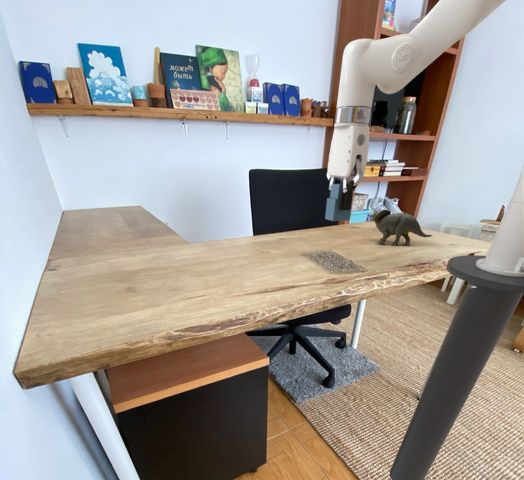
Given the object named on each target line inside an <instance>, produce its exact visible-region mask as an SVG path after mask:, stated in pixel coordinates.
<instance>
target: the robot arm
mask: <svg viewBox="0 0 524 480" xmlns="http://www.w3.org/2000/svg"><path fill="white" fill-rule="evenodd" d="M506 1H507V0H438V2H437V3H436V4H435V5H434V6H433V7H432V8H431V10H429V12H428V13H427V14H426V16H424V17H423V19H422V20H420V22H418V24H417V25H415V27H414V28H412V30H410V32H409V33H401V34H397V35H392V36H389V37H385V38H379V39H373V38H358V39H355V40H352V41H350V42H348V43H347V45H346V46H345V48H344V50H343V53H342V59H341V67H340V68H341V69H340V77H339V85H338V92H337V101H336V111H335V118H334V126H333V127H334V129H333V133H332V138H331V143H330V147H329V148H330V149H329V154H328V161H327V172H326V178H327V180H328V183H329V186H328V190H329V193H328V198H330V195H331V186H332V184H343V192H341V196H340V203H339V210H350V209H351V210H352V206H351V203H352V204H353V197H354V193H355V192H356V188H357V187H358V186H359V184H360V183H361V182H362V181H363V180H364V176H365V174H366V168H367V163H368V156H369V147H370V125H369V123H370V119H371V118H370V117H371V112H372V105H373V101H374V95H375V89H376V86H377V88H378V89H379V90H380V92H382V93H383V94H387V95H392V94H396V93H398V92H400V91H401V90H402V89H403V88H404V87H406V86H407V85H408V84H410V82H411V81H412V80H413V79H415V78H416V77H417V76H418V75H420V73H421V72H423V71H424V70H425V69H427V67H428V66H429V65H431V64H433V62H434V61H435V60H437V59H438V58H439V57H440V56H441V55H442V54H443V53H445V52H446V51H447V50H448V49H449V48H451V47H452V46H453V45H455V43H458V41H460V40H461V39H462V38H464V37H465V36H467V35H468V34H469V33H470V32H472V31H473V30H474V29H475V28H476V27H478V25H479V24H481V23H482V22H483V21H484V20H485V19H487V18H488V17H489V16H490V15H491V14H492V13H494V11H496V10H497V9H498V8H500V6H501V5H503V4H504V3H505V2H506ZM485 256H486V258H484V259H479V260H477V262H476V264H475V265H476V266H477V267H478V268H479V269H481V270H484V271H487V272H490V273H494V274H498V275H504V276H511V277H524V162H522V168H521V172H520V174H519V178H518V180H517V182H516V186H515V188H514V191H513V192H512V195H511V198H510V200H509V201H508V204H507V207H506V209H505V211H504V213H503V216H502V218H501V220H500V223H499V226H498V228H497V230H496V232H495V235H494V237H493V239H492V242H491V243H490V246H489V249H488V251H487V253H486V255H485Z"/></svg>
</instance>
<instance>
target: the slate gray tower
mask: <svg viewBox="0 0 524 480" xmlns="http://www.w3.org/2000/svg"><path fill="white" fill-rule="evenodd" d="M341 192H343V183H342V184H332V186H331V195H330V198H329V197H327V199H326V205H325V216H324V219H325V220H327V221H330V222H342V221H343V222H345V221H351V219H350V218H351V212H352V208H351V209H350V210H339V203H340V196H341ZM352 206H353V202H352V203H351V207H352Z"/></svg>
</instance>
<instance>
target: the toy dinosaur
mask: <svg viewBox="0 0 524 480" xmlns="http://www.w3.org/2000/svg"><path fill="white" fill-rule="evenodd" d="M371 209H372V210H373V211H372V214H371V217H370V218H371V221H372V222H374V223H375V227H376V229H378V231H379V232H380V233H381V234H382V238H379V241H378V242H377V244H378V245H383V246H384V245H385V244H386V241H387V239H388V238H390V237H391V236H395V240H394V241H393V242H391V243H390V245H391V246H394V247H395V246H398V245H399V243H400V239H401V238H402V237H403V238H404V240H405V242H404V243H403V244H402V245H403V246H409V245H410V244H411V237H410V236H409V233H411V234H413V235H416V236H419V237H422V238H431V237H433V234H427V233H425V232H423V230H422V227H421V225H420V223H419V221H418V220H417V219H416V217H415V216H414V215H412V214H410V213H407V212H397V213H392V211H391V210H389V209H382V208H381V206H380V204H378V210H377V209H376V208H374V207H373V206H371Z"/></svg>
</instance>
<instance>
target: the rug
mask: <svg viewBox="0 0 524 480" xmlns="http://www.w3.org/2000/svg"><path fill="white" fill-rule="evenodd" d="M302 254H303V255H304V256H305V255H306V256H308V257H310V258H312V260H313V261H314V262H316V263H317V264H319V265H320V264H322V266H323V267H324V268H328V270H329V272H331V273H334V272H336V273H341V272H345V271H349V272H350V270H352V271H354V270H356V271H363V270H364V269H366V270H368V269H367V267H365V266H364V265H359V264H357V263H356V262H354V261H352V260H351V259H348V258H347V257H346V258H345V257H344V256H342V255H341V254H339V253H336V251H334V250H333V249H327V250H321V249H319V250H312V251H303V252H302ZM325 259H329V261H328V260H325ZM335 259H336V260H335ZM324 261H325V264H324Z"/></svg>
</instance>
